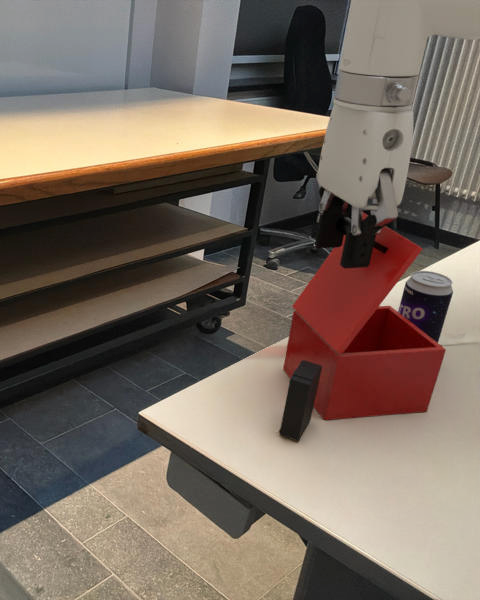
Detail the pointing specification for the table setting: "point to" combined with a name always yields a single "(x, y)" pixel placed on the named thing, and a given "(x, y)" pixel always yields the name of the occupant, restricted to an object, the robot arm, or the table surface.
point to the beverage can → (427, 301)
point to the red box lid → (353, 286)
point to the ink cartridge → (300, 400)
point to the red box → (369, 367)
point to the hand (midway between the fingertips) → (340, 254)
